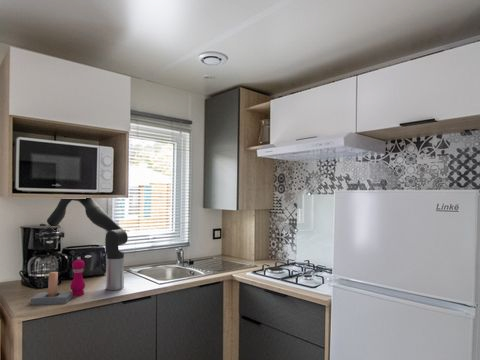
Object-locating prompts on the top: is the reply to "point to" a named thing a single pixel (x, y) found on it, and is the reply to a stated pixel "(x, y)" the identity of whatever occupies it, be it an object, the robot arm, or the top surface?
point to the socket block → (51, 298)
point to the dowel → (52, 284)
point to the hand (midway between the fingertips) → (51, 236)
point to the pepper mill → (78, 278)
